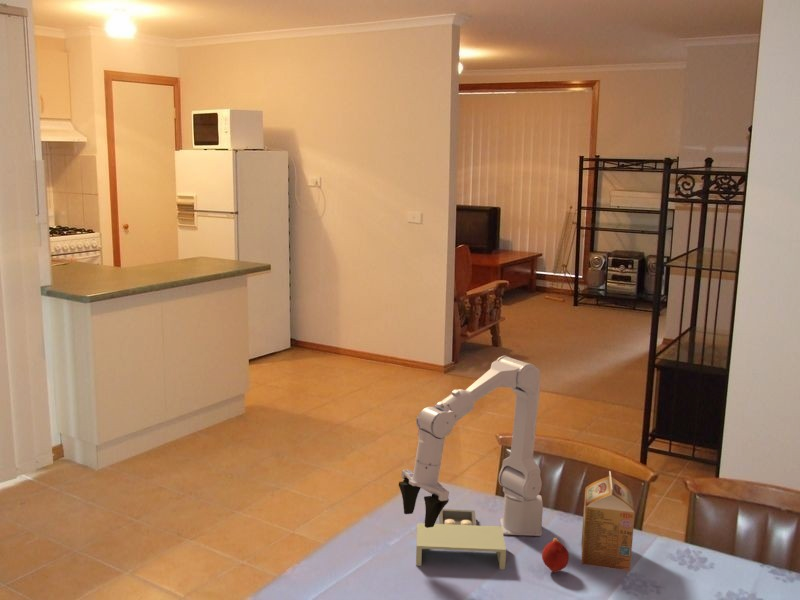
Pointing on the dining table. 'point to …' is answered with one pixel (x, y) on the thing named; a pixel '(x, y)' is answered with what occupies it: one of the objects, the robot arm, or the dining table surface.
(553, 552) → the onion
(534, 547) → the dining table surface
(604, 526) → the milk carton
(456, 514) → the tray
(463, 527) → the bench
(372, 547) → the dining table surface
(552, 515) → the dining table surface
